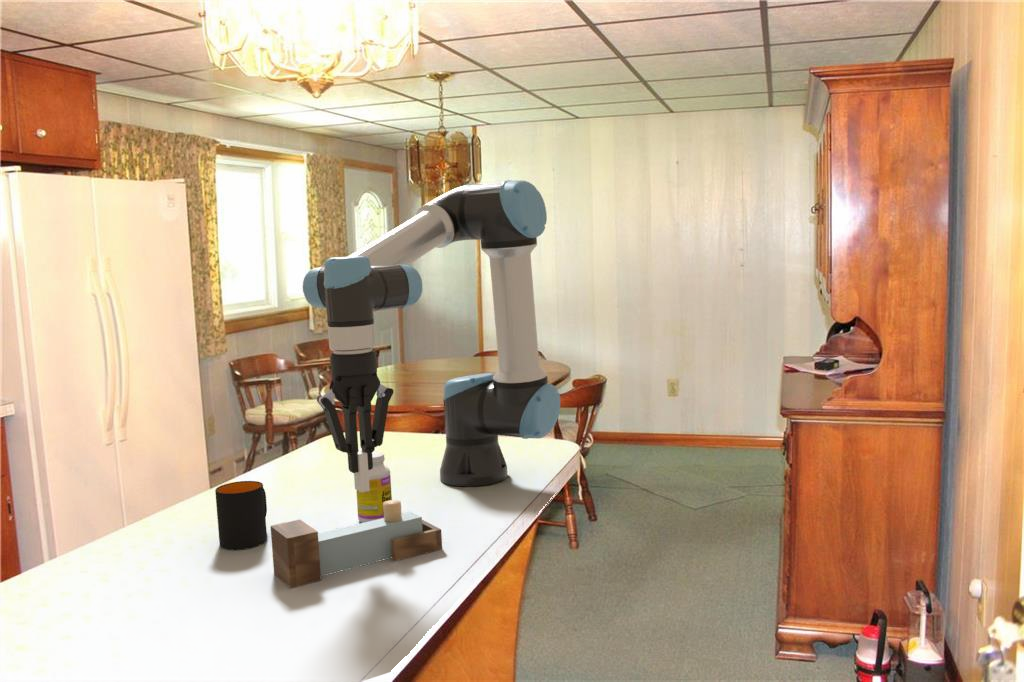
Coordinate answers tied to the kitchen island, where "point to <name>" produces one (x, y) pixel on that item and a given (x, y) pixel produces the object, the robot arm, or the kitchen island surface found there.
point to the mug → (241, 515)
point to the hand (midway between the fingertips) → (362, 489)
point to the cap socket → (295, 553)
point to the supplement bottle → (375, 491)
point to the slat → (366, 539)
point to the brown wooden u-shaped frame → (417, 542)
